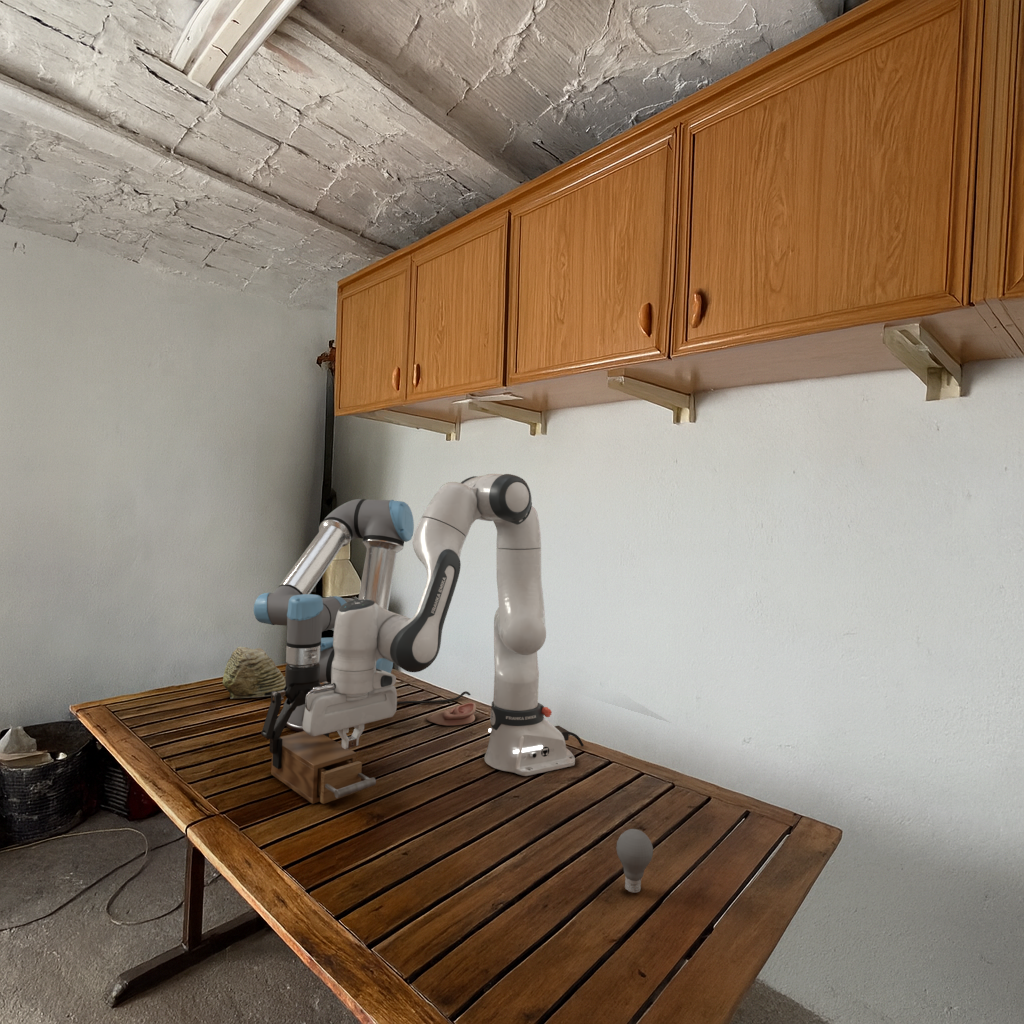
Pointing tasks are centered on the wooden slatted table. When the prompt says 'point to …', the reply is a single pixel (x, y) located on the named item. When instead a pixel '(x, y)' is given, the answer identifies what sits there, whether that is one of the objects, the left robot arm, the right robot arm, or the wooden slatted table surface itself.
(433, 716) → the anatomical model
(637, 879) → the light bulb
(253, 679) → the fossil
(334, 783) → the drawer
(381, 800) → the wooden slatted table surface
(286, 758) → the cabinet
